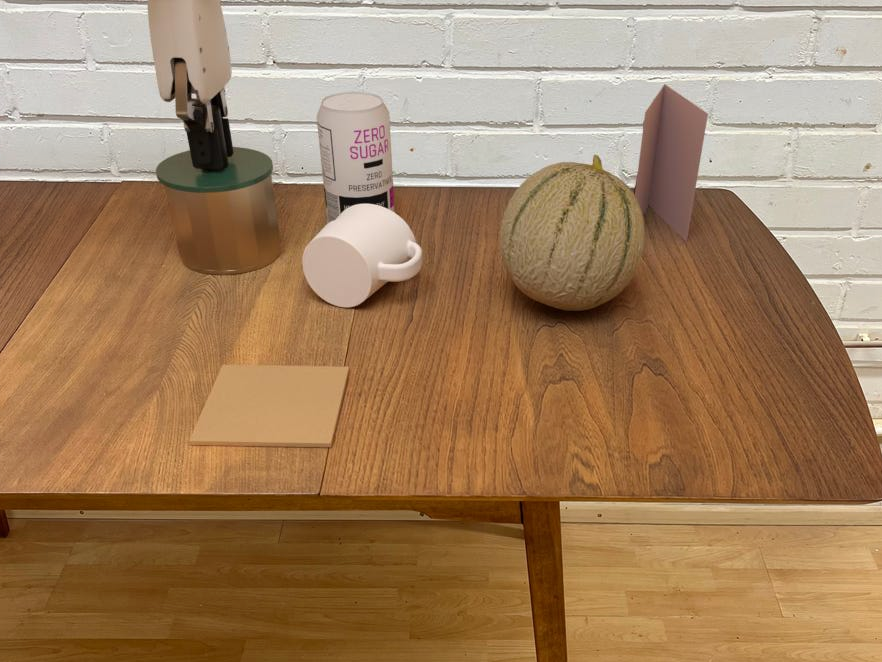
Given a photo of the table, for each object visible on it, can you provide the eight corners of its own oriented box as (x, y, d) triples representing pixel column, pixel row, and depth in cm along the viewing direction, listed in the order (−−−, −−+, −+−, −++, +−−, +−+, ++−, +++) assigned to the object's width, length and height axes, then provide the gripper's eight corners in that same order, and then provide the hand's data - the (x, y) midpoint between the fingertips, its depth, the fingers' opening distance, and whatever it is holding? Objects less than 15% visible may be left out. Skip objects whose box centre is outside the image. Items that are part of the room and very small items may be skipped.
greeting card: (641, 204, 116) (657, 83, 106) (698, 212, 114) (720, 90, 104) (622, 239, 108) (637, 111, 98) (683, 249, 106) (705, 119, 96)
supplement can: (351, 210, 113) (340, 86, 104) (407, 222, 111) (402, 96, 101) (315, 233, 108) (300, 105, 98) (373, 247, 105) (364, 116, 96)
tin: (230, 284, 98) (215, 200, 91) (160, 257, 102) (141, 176, 96) (301, 247, 105) (291, 167, 99) (232, 224, 110) (219, 146, 104)
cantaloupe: (474, 316, 93) (476, 174, 83) (529, 260, 103) (536, 128, 93) (609, 350, 88) (627, 203, 78) (653, 287, 98) (673, 151, 88)
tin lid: (214, 207, 91) (201, 136, 87) (133, 181, 96) (117, 112, 92) (297, 172, 99) (289, 105, 95) (218, 149, 104) (207, 84, 100)
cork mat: (189, 445, 75) (188, 440, 75) (223, 368, 84) (222, 364, 84) (331, 447, 75) (331, 443, 75) (349, 370, 84) (349, 366, 84)
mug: (299, 299, 95) (290, 228, 90) (339, 263, 102) (333, 195, 97) (402, 319, 92) (399, 247, 87) (436, 280, 99) (435, 211, 94)
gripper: (170, -47, 92) (203, 135, 103) (109, -15, 79) (153, 188, 91) (242, -44, 91) (267, 138, 103) (192, -12, 79) (226, 191, 90)
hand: (213, 160), depth 97 cm, fingers closed on tin lid, 3 cm apart
